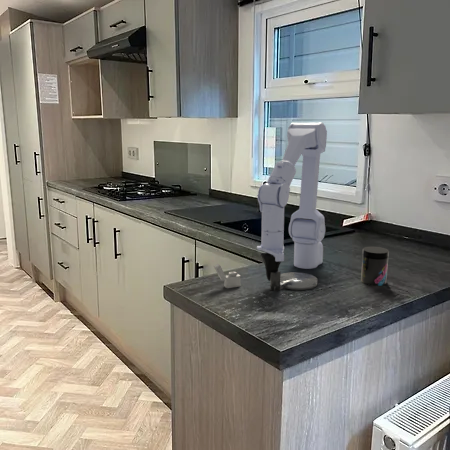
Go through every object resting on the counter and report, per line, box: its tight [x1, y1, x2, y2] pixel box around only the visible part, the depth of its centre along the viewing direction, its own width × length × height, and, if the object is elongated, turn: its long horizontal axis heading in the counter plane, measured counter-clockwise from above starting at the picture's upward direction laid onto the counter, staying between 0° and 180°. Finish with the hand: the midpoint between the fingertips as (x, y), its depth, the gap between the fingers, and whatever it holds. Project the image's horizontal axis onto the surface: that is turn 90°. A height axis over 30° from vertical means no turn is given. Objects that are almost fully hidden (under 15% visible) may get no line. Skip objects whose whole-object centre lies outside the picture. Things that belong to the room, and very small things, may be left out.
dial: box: [269, 269, 318, 292], centre depth 123 cm, size 15×11×5 cm
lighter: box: [213, 263, 242, 289], centre depth 122 cm, size 7×2×8 cm, turn 112°
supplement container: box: [360, 246, 390, 287], centre depth 125 cm, size 7×7×10 cm
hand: (271, 279), depth 122 cm, fingers closed, pressing on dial
